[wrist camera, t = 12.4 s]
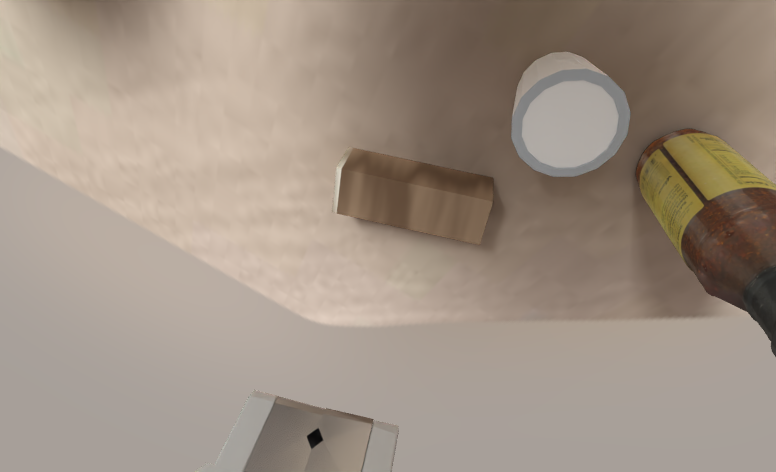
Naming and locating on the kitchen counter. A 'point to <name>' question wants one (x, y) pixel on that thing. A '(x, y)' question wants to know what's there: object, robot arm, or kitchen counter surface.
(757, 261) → the sauce bottle
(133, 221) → the kitchen counter surface
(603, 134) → the white tapered cylinder
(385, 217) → the walnut block
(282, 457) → the robot arm
